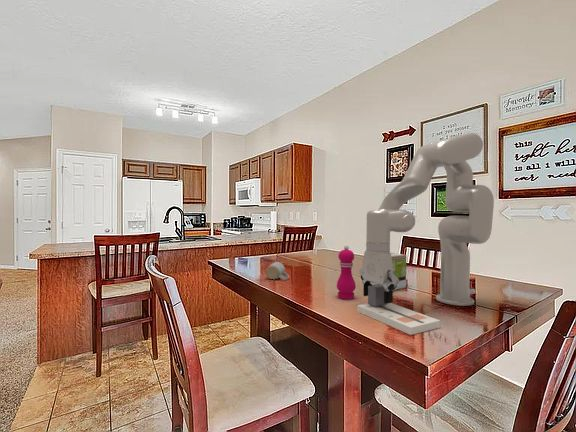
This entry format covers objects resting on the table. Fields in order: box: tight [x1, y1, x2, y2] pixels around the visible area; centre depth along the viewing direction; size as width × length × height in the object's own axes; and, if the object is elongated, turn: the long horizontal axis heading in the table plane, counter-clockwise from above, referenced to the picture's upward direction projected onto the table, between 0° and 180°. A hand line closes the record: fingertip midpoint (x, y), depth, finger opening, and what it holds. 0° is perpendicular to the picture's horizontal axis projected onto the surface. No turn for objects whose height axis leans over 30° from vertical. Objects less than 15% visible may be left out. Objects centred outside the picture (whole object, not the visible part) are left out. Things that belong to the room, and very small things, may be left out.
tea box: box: [370, 252, 407, 291], centre depth 135 cm, size 15×10×15 cm
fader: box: [367, 284, 387, 307], centre depth 104 cm, size 5×4×6 cm
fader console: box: [356, 302, 441, 336], centre depth 97 cm, size 12×22×2 cm, turn 27°
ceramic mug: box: [265, 261, 290, 281], centre depth 152 cm, size 11×8×8 cm
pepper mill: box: [336, 245, 356, 301], centre depth 120 cm, size 7×7×20 cm
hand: (377, 299), depth 104 cm, fingers open, 9 cm apart
